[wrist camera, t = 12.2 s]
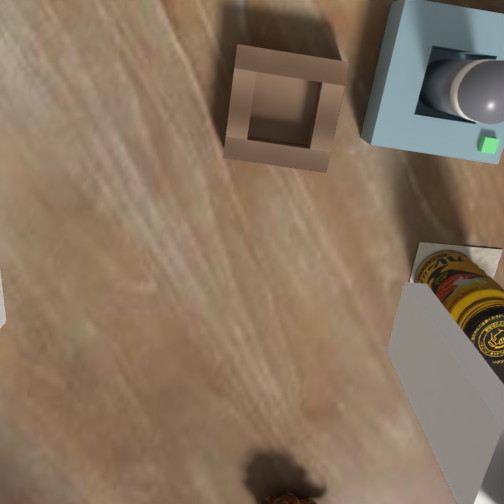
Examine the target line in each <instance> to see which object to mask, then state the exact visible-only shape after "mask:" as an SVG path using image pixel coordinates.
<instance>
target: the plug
mask: <svg viewBox="0 0 504 504" xmlns="http://www.w3.org/2000/svg"><path fill="white" fill-rule="evenodd" d="M419 99H420V100H421V102H422V103H423V104H424V105H425V106H427V107H429V108H432V109H436V110H439V111H442V112H446V113H449V114H453V115H456V116H460V117H462V118H465V119H468V120H471V121H475V122H481V123H484V124H498V123H501V122H504V61H503V60H493V59H482V60H452V59H442V60H437V61H434V62H432V63H431V64H429V65H428V66H427V68H426V72H425V76H424V79H423V83H422V87H421V91H420V94H419Z"/></svg>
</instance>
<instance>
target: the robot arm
mask: <svg viewBox="0 0 504 504" xmlns="http://www.w3.org/2000/svg"><path fill="white" fill-rule="evenodd" d="M5 322H6V316H5V307H4V299H3V290H2V281H1V273H0V328H1V327H2V326H3V325H4V324H5ZM387 354H388V356H389V358H390V360H391V362H392V365H393V367H394V369H395V371H396V373H397V376H398V378H399V380H400V382H401V384H402V386H403V389H404V391H405V393H406V395H407V397H408V400H409V402H410V404H411V406H412V408H413V410H414V413H415V415H416V417H417V419H418V421H419V424H420V426H421V428H422V430H423V432H424V434H425V437H426V439H427V441H428V443H429V445H430V448H431V450H432V452H433V454H434V456H435V458H436V461H437V463H438V465H439V467H440V469H441V472H442V474H443V476H444V478H445V480H446V483H447V485H448V487H449V489H450V491H451V493H452V496H453V498H454V500H455V502H456V504H504V368H503V367H502V366H498V365H488V363H487V362H486V361H485V359H484V358H483V357H482V355H481V354H480V353H479V352H478V350H477V349H476V348H475V346H474V345H473V344H472V342H471V341H470V340H469V338H468V337H467V336H466V334H465V333H464V332H463V331H462V329H461V328H460V327H459V325H458V324H457V323H456V321H455V320H454V319H453V317H452V316H451V315H450V314H449V312H448V311H447V310H446V308H445V307H444V306H443V304H442V303H441V302H440V300H439V299H438V298H437V297H436V295H435V294H434V293H433V291H432V290H431V289H430V287H429V286H428V285H427V284H422V283H411V282H404V284H403V288H402V292H401V296H400V300H399V304H398V309H397V313H396V317H395V321H394V325H393V329H392V333H391V337H390V341H389V345H388V349H387Z"/></svg>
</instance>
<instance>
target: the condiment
mask: <svg viewBox="0 0 504 504" xmlns="http://www.w3.org/2000/svg"><path fill="white" fill-rule="evenodd" d="M501 254H502V250H501V249H490V248H478V247H467V246H459V245H447V244H437V243H424V242H419V246H418V250H417V254H416V258H415V261H414V265H413V269H412V273H411V278H410V282H411V283H422V284H427V285H428V286H429V287H430V289H431V290H432V291H433V293H434V294H435V295H436V297H437V298H438V299H439V300H440V302H441V303H442V304H443V306H444V307H445V308H446V310H447V311H448V312H449V314H450V315H451V316H452V317H453V319H454V320H455V321H456V323H457V324H458V325H459V327H460V328H461V329H462V331H463V332H464V333H465V334H466V336H467V337H468V338H469V340H470V341H471V342H472V344H473V345H474V346H475V348H476V349H477V350H478V352H479V353H480V354H481V355H482V357H483V358H484V359H485V361H486V362H487V363H488V365H498V366H499V365H504V289H503V288H502V287H501V286H500V285H499V284H498V283H496V282H495V281H494V280H493V276H494V275H495V272H496V269H497V266H498V262H499V260H500V257H501Z"/></svg>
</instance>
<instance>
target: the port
mask: <svg viewBox="0 0 504 504" xmlns="http://www.w3.org/2000/svg"><path fill="white" fill-rule="evenodd" d="M442 59H452V60H482V59H493V60H503V61H504V14H502V13H496V12H490V11H484V10H478V9H473V8H467V7H461V6H455V5H449V4H443V3H437V2H432V1H426V0H397V1H394V2H392V3H391V6H390V11H389V15H388V19H387V24H386V28H385V32H384V37H383V41H382V45H381V50H380V54H379V58H378V63H377V67H376V71H375V76H374V80H373V84H372V89H371V93H370V97H369V102H368V106H367V111H366V115H365V119H364V124H363V128H362V132H361V137H360V138H362V139H363V140H365V141H366V142H367V143H369V144H370V145H374V146H381V147H387V148H394V149H401V150H407V151H414V152H420V153H427V154H434V155H440V156H447V157H454V158H460V159H467V160H473V161H480V162H487V163H493V164H498V162H499V159H500V156H501V153H502V150H503V147H504V122H501V123H498V124H484V123H481V122H475V121H471V120H468V119H465V118H462V117H460V116H456V115H453V114H449V113H446V112H442V111H439V110H436V109H432V108H429V107H427V106H425V105H424V104H423V103H422V102H421V100H420V99H419V94H420V91H421V87H422V83H423V79H424V76H425V72H426V68H427V66H428V65H429V64H431V63H432V62H434V61H437V60H442Z"/></svg>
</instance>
